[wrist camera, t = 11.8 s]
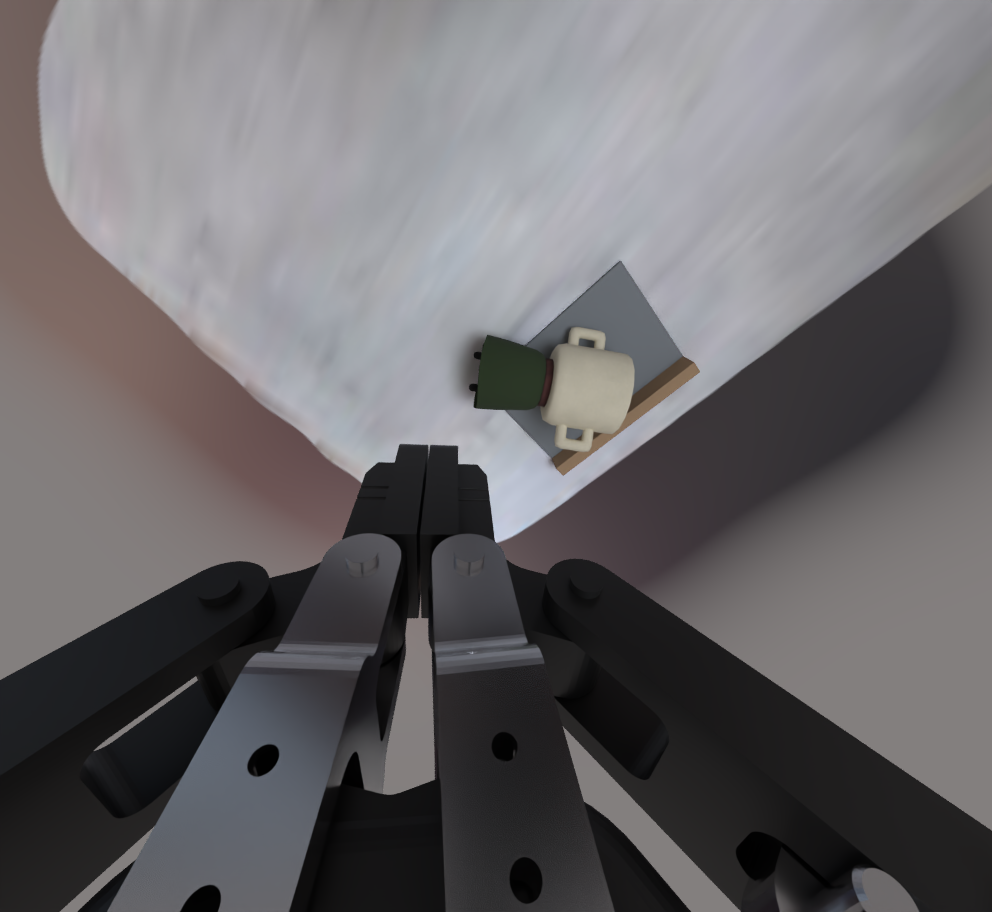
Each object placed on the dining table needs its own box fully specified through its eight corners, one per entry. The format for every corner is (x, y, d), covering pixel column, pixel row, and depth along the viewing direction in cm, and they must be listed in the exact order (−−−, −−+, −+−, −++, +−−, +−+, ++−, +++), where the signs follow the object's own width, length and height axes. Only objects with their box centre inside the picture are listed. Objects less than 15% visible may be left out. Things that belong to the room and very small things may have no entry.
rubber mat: (481, 384, 39) (482, 393, 37) (619, 260, 34) (630, 263, 32) (558, 464, 44) (563, 475, 42) (687, 364, 40) (700, 371, 37)
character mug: (462, 437, 38) (597, 458, 39) (461, 427, 31) (626, 453, 32) (479, 325, 39) (611, 348, 40) (482, 290, 32) (643, 319, 33)
